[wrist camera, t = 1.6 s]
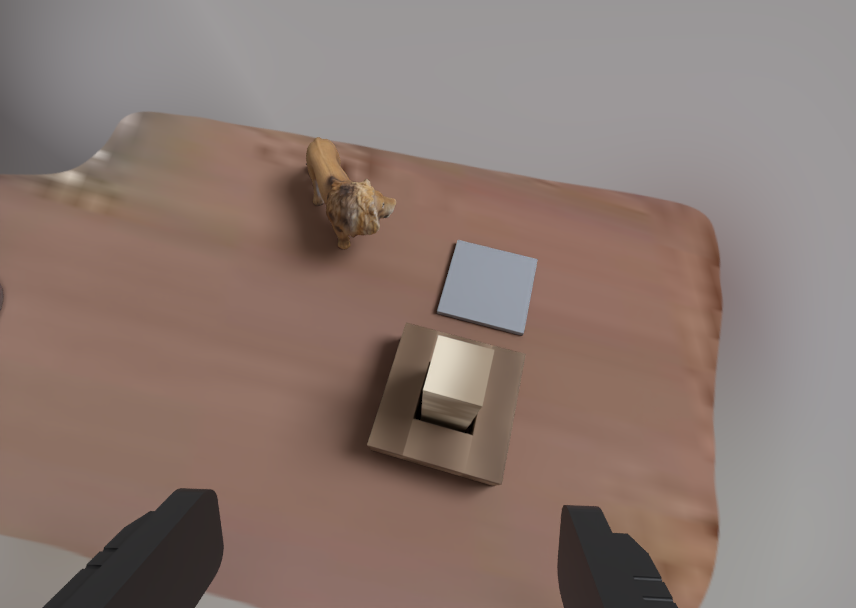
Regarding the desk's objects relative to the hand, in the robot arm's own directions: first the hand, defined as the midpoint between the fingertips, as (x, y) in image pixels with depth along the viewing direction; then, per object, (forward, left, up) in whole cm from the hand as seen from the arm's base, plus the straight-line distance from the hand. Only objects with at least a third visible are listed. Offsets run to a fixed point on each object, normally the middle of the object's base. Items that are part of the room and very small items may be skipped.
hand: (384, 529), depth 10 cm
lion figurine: (-13, +25, -25) cm, 38 cm away
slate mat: (+2, +20, -25) cm, 32 cm away
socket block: (+1, +8, -25) cm, 26 cm away
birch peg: (+1, +8, -25) cm, 26 cm away
